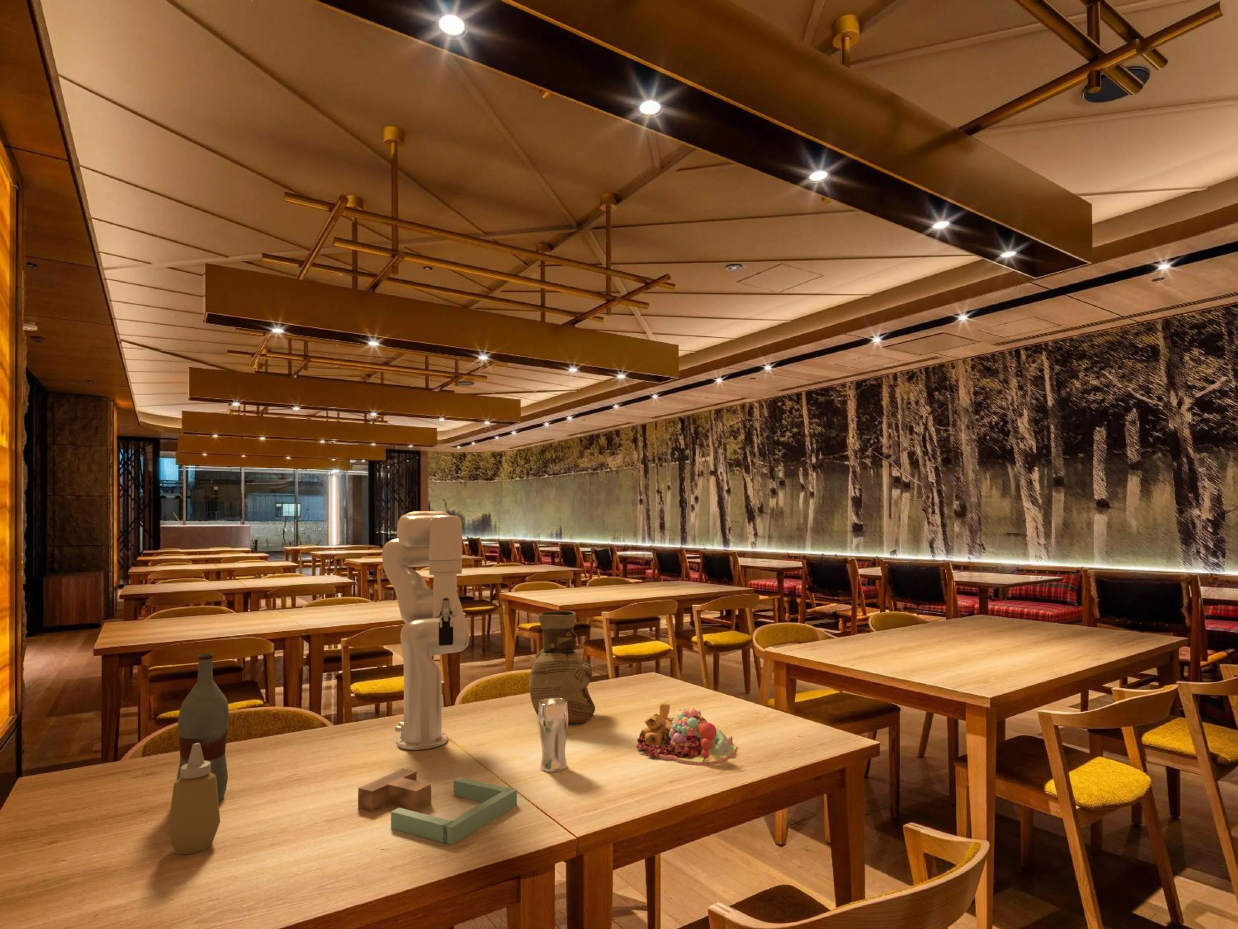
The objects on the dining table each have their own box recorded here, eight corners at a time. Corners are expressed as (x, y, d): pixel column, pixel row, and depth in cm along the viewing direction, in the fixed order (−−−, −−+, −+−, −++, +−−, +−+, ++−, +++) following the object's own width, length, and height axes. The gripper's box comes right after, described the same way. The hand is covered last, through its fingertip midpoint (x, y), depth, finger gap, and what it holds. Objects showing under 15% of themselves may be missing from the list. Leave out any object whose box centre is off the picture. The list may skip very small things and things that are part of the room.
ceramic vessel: (614, 716, 199) (612, 611, 201) (558, 733, 184) (556, 619, 186) (572, 704, 212) (571, 606, 215) (516, 719, 198) (515, 613, 200)
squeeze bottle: (182, 838, 126) (185, 738, 127) (228, 836, 127) (230, 736, 128) (156, 860, 118) (159, 752, 119) (205, 857, 119) (208, 750, 120)
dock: (390, 828, 129) (391, 811, 129) (460, 791, 145) (460, 777, 146) (451, 845, 122) (451, 827, 122) (517, 805, 138) (516, 789, 138)
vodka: (172, 813, 137) (177, 660, 139) (177, 797, 145) (181, 653, 148) (226, 803, 141) (230, 655, 144) (228, 788, 150) (231, 648, 152)
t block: (358, 808, 138) (358, 788, 138) (403, 787, 149) (403, 768, 149) (401, 820, 132) (401, 798, 133) (444, 797, 143) (444, 777, 143)
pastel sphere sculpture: (622, 757, 165) (622, 718, 166) (654, 729, 187) (653, 694, 188) (724, 770, 156) (723, 728, 157) (745, 738, 178) (744, 702, 179)
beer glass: (564, 774, 154) (563, 705, 156) (534, 772, 156) (534, 704, 157) (572, 763, 161) (571, 697, 162) (543, 761, 163) (543, 696, 164)
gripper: (429, 566, 169) (429, 637, 167) (428, 570, 152) (428, 649, 151) (460, 565, 171) (461, 635, 169) (463, 569, 154) (463, 646, 153)
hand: (445, 641), depth 160 cm, fingers open, 9 cm apart
